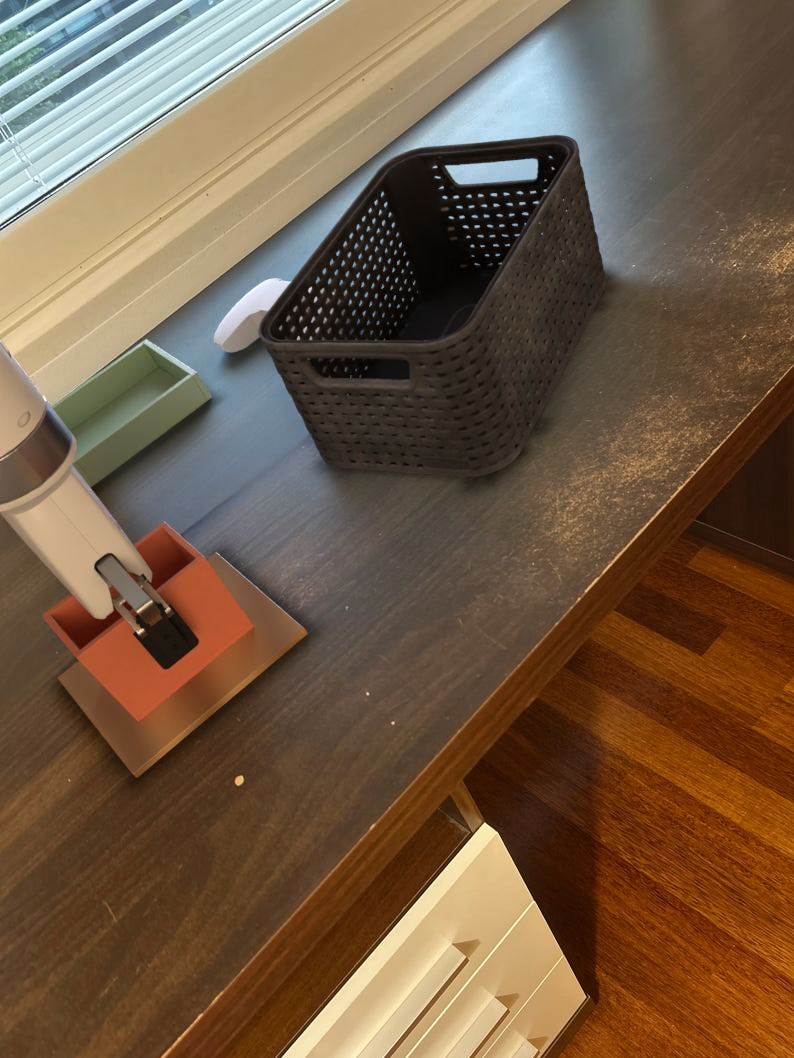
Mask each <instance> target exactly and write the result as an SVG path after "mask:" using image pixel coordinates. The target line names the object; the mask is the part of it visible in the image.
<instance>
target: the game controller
mask: <svg viewBox="0 0 794 1058" xmlns="http://www.w3.org/2000/svg"><path fill="white" fill-rule="evenodd" d="M290 282H291V281H289V280H288V281H286V280H282V279H281V278H279V277H272V278H267V279H265V280H264V281H262V282H261V283H259V284H257V285H256V286H254V287H253V288H252V289H251V290H249V291H248V292H247V293H246V294H245V295H244V296H242V298H240V299H239V301H237V302H236V303H235V304H234V305H233V307H232V308H230V310H229V311H228V312H227V314H226V315H225V316H224V317H223V319H222V320H221V322H220V323H219V325H218V326H217V328H216V330H215V333H214V335H213V342H214V344H215V346H216V347H217V348H218V349H219V350H221V351H223V352H225V353H236V352H239V351H242V350H245V349H246V348H248V347H249V346H250V345H251V344H253V343H254V342H255V341H256V340H258V339H259V338H260V337H259V334H258V328H259V324H260V322H261V320H262V319H263V317H264V316H265V315H266V313H267V312H268V311H269V309H270V308H271V307H272V306H273V304H274V303H275V302H276V300H277V299H278V298H279V296H280V295H281V294H282V293H283V292H284V290H285V289H286V288H287V286H288V285H289V284H290ZM311 289H312V287H310V288H309V290H308V291H309V293H310V292H311ZM335 290H336V289H334V291H333V292H332V293H333V295H334V293H335ZM323 291H324V288H323V289H322V290H321V293H323ZM346 293H347V292H344V296H345V295H346ZM303 300H305V297H304V296H303V298H302V300H301V302H302V301H303ZM316 301H317V297H315V299H314V303H315V302H316ZM327 302H329V299H328V298H327V300H326V303H327ZM339 303H340V299H339V301H338V303H337V304H339ZM350 304H351V301H349V305H350ZM309 308H310V307H308V308H307V309H306V312H308V311H309ZM296 309H297V306H296V307H295V308H294V312H295V311H296ZM321 309H322V308H320V309H319V310H318V313H320V312H321ZM332 312H333V308H332V309H331V311H330V313H331V314H332ZM341 313H342V315H343V313H344V310H343V311H342V312H341ZM289 319H290V316H288V317H287V320H286V321H288V320H289ZM302 319H303V318H302V316H301V317H300V321H301V320H302ZM314 320H315V318H314V317H313V318H312V321H311V323H312V322H313V321H314ZM300 321H299V322H300ZM325 321H327V319H326V317H325V319H324V322H323V323H325ZM337 321H338V318H337V319H336V321H335V324H336V322H337ZM348 322H349V319H347V322H346V324H347V323H348ZM281 328H282V325H281V326H280V328H279V329H280V330H281ZM294 328H295V327H294V326H293V328H292V329H291V332H293V330H294ZM306 329H307V326H306V327H305V328H304V330H303V331H304V333H305V331H306ZM318 330H319V327H318V328H317V329H316V333H317V332H318ZM330 330H331V328H330V329H329V330H328V334H329V332H330ZM341 331H342V329H341V330H340V331H339V334H340V333H341ZM299 339H300V337H299V336H298V338H297V340H299ZM309 340H312V337H310V339H309ZM322 340H324V337H322ZM334 340H336V338H335V337H334ZM321 359H322V358H319V360H318V361H320V360H321ZM308 360H309V358H308Z"/></svg>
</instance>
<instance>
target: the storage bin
mask: <svg viewBox="0 0 794 1058" xmlns="http://www.w3.org/2000/svg"><path fill="white" fill-rule="evenodd" d="M531 159H532V160H536V161H537V169H536V170H537V171H536V177H535V178H531V179H521V180H520V179H517V180H505V181H494V182H493V181H492V182H478V183H475V182H474V183H462V184H461V183H458V182H457V181H456V180H455V179H454V178H453V176H452V175H451V173H450V172H449V170H448V169H447V166H461V165H465V166H466V165H476V164H489V163H490V164H491V163H492V164H493V163H498V162H501V163H502V162H512V161H521V160H522V161H523V160H531ZM520 192H521V193H520ZM492 194H493V195H492ZM494 194H495V195H494ZM479 195H481V196H479ZM445 197H446V198H445ZM535 202H538V203H535ZM520 203H524V204H520ZM510 204H511V205H510ZM485 205H486V206H485ZM495 205H496V206H495ZM472 206H473V207H472ZM524 213H525V214H524ZM500 215H501V216H500ZM473 216H475V217H473ZM450 217H451V218H450ZM363 219H364V220H363ZM383 222H384V224H383ZM476 226H477V227H476ZM478 226H479V227H478ZM368 228H369V229H368ZM378 230H379V231H378ZM351 235H352V236H351ZM350 236H351V237H350ZM598 237H599V236H598V234H597V232H596V226H595V219H594V215H593V212H592V211H591V203H590V196H589V191H588V189H587V187H586V180H585V174H584V169H583V166H582V164H581V157H580V148H579V143H578V142H577V141H576V140H575V139H574V138H572V137H570V136H568V135H561V134H551V135H541V136H540V135H539V136H532V137H523V138H513V139H512V138H511V139H502V140H491V141H482V142H469V143H459V144H444V145H433V146H422V147H417V148H412V149H409V150H407V151H404V152H402V153H399V154H397V155H396V156H394V157H392V158H391V159H388V160H387V161H386V162H385V163H384V164H382V165H381V166H380V167H379V168H378V169H377V171H376V172H375V173H374V174H373V176H372V177H371V178H370V179H369V181H368V182H367V183H366V185H365V186H364V187H363V188H362V190H361V191H360V192H359V194H357V196H356V198H355V199H354V200H353V201H352V203H351V204H350V205H349V206H348V208H346V210H345V211H344V213H343V214H342V216H341V217H340V218H339V219H338V221H337V222H336V223H335V224H334V226H333V227H332V228H331V230H330V231H329V232H328V234H327V235H326V236H325V238H323V240H322V241H321V243H320V244H319V245H318V246H317V248H316V249H315V250H314V252H313V253H312V254H311V255H310V256H309V258H308V259H307V261H306V262H305V263H304V265H303V266H301V268H300V269H299V270H298V272H297V273H296V275H295V276H294V277H293V278H292V280H291V281H289V282H290V284H289V285H288V286H287V288H286V289H285V290H284V292H283V293H282V294H281V295H280V296H279V298H278V299H277V300H276V302H275V303H274V304H273V306H272V307H271V308H270V309H269V311H268V312H267V313H266V315H265V316H264V317H263V319H262V320H261V322H260V324H259V328H258V334H259V338H260V340H261V342H262V344H263V345H264V347H265V350H266V352H267V353H268V354H269V355H270V357H271V360H272V362H273V365H274V367H275V370H276V371H277V374H279V375H280V378H281V379H282V382H283V384H284V387H285V389H286V391H287V393H288V395H290V397H291V399H292V402H293V403H294V406H295V409H296V410H297V412H298V413H299V415H300V417H301V418H302V421H303V423H304V426H305V428H306V430H307V431H308V433H309V434H310V436H311V438H312V440H313V443H314V445H315V447H316V449H317V451H318V452H319V455H320V457H321V459H322V460H323V462H325V463H326V464H327V465H329V466H330V467H334V468H339V469H340V468H341V469H353V470H354V469H356V470H366V471H367V470H369V471H380V472H381V471H382V472H397V473H409V474H425V475H436V476H437V475H438V476H454V477H465V478H466V477H472V478H473V477H482V476H487V475H489V474H493V473H495V472H497V471H500V470H502V469H504V468H506V466H508V465H509V464H511V463H513V461H514V460H515V459H517V457H519V455H520V454H521V452H522V451H523V449H524V448H525V445H526V442H527V441H528V439H529V437H530V435H531V433H532V431H533V429H534V427H535V426H536V424H537V422H538V419H539V418H540V416H541V414H542V411H544V408H545V406H546V404H547V403H548V400H549V398H550V396H551V394H552V392H553V391H554V388H555V387H556V384H557V382H558V381H559V379H560V377H561V375H562V373H563V371H564V369H565V367H566V365H567V363H568V361H569V360H570V357H571V355H572V353H573V351H574V349H575V348H576V345H577V343H578V342H579V340H580V337H581V336H582V334H583V332H584V330H585V328H586V326H587V324H588V322H589V320H590V318H591V316H592V314H593V312H594V310H595V309H596V306H597V305H598V302H599V300H600V298H601V296H602V294H603V292H604V290H605V289H606V287H607V282H608V281H607V275H606V272H605V269H604V263H603V258H602V254H601V251H600V245H599V238H598ZM371 239H372V240H371ZM381 241H382V242H381ZM345 243H346V244H345ZM496 245H497V246H496ZM366 247H367V248H366ZM337 253H338V255H337ZM349 254H350V255H349ZM359 257H360V258H359ZM331 262H332V263H331ZM343 262H344V264H343ZM354 264H355V265H354ZM324 270H325V271H324ZM347 273H348V274H347ZM357 275H358V276H357ZM318 279H319V280H318ZM329 281H330V282H329ZM341 282H342V283H341ZM352 283H353V284H352ZM310 287H312V289H311V292H310V293H309V291H308V290H309V288H310ZM323 288H324V291H323V293H321V290H322V289H323ZM334 289H336V290H335V293H334V295H333V293H332V292H333V291H334ZM344 293H346V295H345V296H344ZM303 296H304V297H305V300H303V301H302V302H301V300H302V298H303ZM315 297H317V301H316V302H315V303H314V299H315ZM327 298H328V299H329V302H327V303H326V300H327ZM339 299H340V303H339V304H337V303H338V301H339ZM349 302H350V305H349ZM296 306H297V309H296V311H295V312H294V308H295V307H296ZM308 307H310V308H309V311H308V312H306V309H307V308H308ZM320 308H322V309H321V312H320V313H318V310H319V309H320ZM332 308H333V312H332V314H331V313H330V311H331V309H332ZM343 310H344V313H343V315H342V313H341V312H342V311H343ZM288 316H290V319H289V320H288V321H286V320H287V317H288ZM301 316H302V318H303V319H302V320H301V321H300V317H301ZM313 317H314V318H315V320H314V321H313V322H312V323H311V321H312V318H313ZM325 317H326V319H327V321H325V323H323V322H324V319H325ZM337 318H338V321H337V322H336V324H335V321H336V319H337ZM347 319H349V320H348V323H347V324H346V322H347ZM299 321H300V322H299ZM281 325H282V328H281V330H280V329H279V328H280V326H281ZM293 326H294V327H295V328H294V330H293V332H291V329H292V328H293ZM306 326H307V329H306V331H305V333H304V331H303V330H304V328H305V327H306ZM318 327H319V330H318V332H317V333H316V329H317V328H318ZM330 328H331V330H330V332H329V334H328V330H329V329H330ZM341 329H342V331H341V333H340V334H339V331H340V330H341ZM298 336H299V337H300V339H299V340H297V338H298ZM310 337H312V340H309V339H310ZM322 337H324V340H322ZM334 337H335V338H336V340H334ZM308 358H309V360H308ZM319 358H322V359H321V360H319ZM318 360H319V361H318Z"/></svg>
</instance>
